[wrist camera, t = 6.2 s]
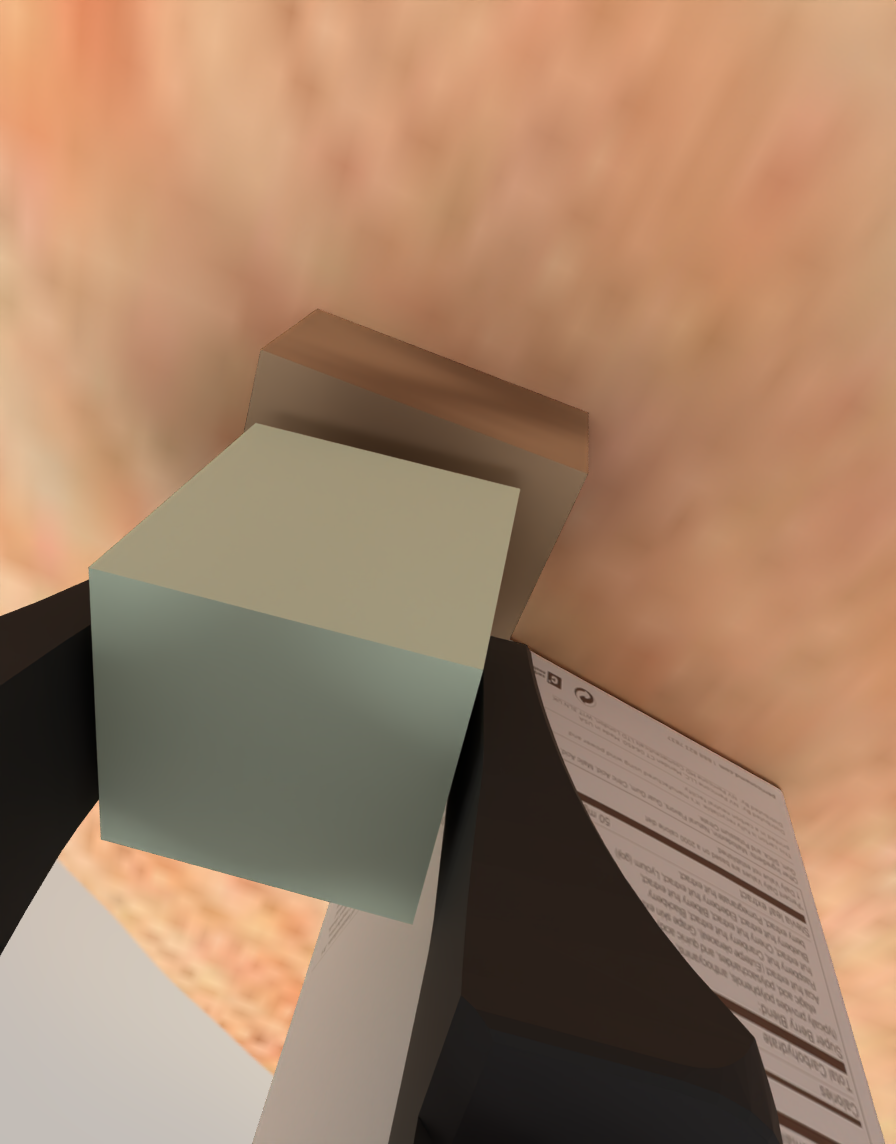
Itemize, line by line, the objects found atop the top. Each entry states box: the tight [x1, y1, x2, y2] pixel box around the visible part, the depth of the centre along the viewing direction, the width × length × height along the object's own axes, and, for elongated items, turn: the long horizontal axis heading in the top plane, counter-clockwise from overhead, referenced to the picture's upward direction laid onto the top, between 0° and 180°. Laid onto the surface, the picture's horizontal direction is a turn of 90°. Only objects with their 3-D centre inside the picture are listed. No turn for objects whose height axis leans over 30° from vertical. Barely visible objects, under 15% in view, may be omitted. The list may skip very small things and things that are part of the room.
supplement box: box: [252, 639, 885, 1144], centre depth 16 cm, size 9×9×15 cm
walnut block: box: [244, 309, 589, 640], centre depth 17 cm, size 6×6×4 cm
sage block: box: [89, 423, 520, 925], centre depth 12 cm, size 4×4×5 cm
